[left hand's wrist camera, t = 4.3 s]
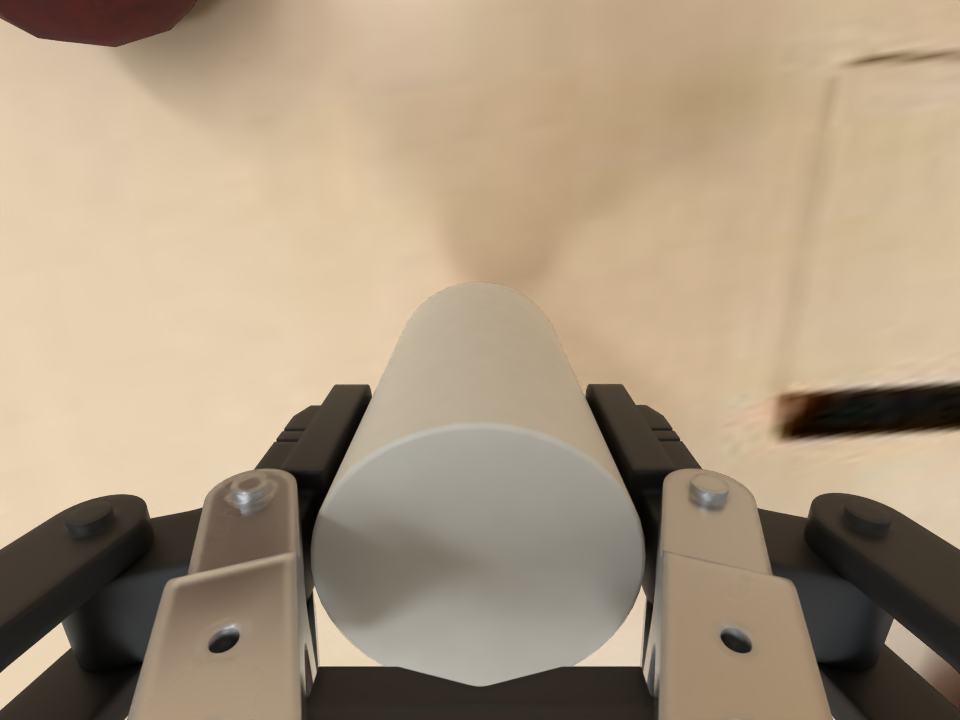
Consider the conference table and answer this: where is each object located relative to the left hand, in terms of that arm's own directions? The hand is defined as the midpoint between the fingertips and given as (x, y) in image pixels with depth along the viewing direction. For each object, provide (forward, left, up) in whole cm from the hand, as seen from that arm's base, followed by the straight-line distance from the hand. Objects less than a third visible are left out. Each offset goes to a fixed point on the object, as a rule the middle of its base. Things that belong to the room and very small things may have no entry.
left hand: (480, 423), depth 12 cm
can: (0, 0, -4) cm, 4 cm away
